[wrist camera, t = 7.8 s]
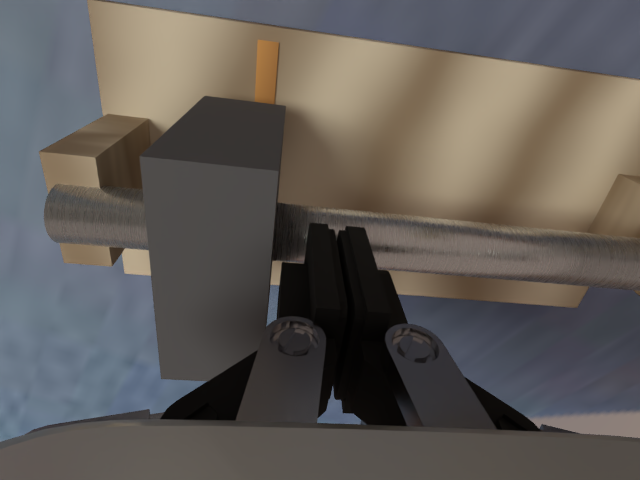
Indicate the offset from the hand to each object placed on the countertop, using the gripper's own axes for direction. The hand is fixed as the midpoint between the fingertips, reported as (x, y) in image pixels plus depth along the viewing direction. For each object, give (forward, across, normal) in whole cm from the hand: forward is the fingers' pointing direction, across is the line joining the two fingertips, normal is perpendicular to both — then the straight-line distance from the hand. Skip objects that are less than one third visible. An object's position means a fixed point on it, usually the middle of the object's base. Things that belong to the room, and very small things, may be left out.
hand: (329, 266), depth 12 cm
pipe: (+3, -3, 0) cm, 5 cm away
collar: (+5, +3, 0) cm, 6 cm away
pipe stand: (+8, -3, 0) cm, 9 cm away
